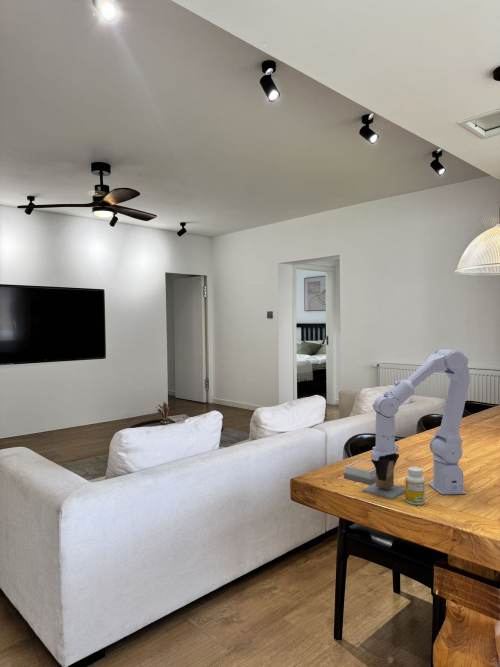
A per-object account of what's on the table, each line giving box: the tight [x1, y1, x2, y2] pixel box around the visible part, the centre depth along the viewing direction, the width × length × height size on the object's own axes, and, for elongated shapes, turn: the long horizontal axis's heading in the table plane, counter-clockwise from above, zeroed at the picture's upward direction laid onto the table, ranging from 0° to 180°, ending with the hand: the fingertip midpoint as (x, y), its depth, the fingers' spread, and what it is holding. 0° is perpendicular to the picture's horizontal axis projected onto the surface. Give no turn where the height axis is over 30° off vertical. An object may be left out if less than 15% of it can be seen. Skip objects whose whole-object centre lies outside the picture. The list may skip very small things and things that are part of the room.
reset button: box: [350, 460, 375, 471], centre depth 158 cm, size 7×7×2 cm
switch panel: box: [343, 459, 376, 486], centre depth 159 cm, size 10×10×4 cm
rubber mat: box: [362, 482, 406, 500], centre depth 146 cm, size 10×10×1 cm
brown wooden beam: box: [375, 460, 395, 489], centre depth 146 cm, size 4×4×8 cm
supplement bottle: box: [405, 466, 426, 506], centre depth 137 cm, size 5×5×10 cm
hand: (385, 478), depth 146 cm, fingers closed on brown wooden beam, 4 cm apart
